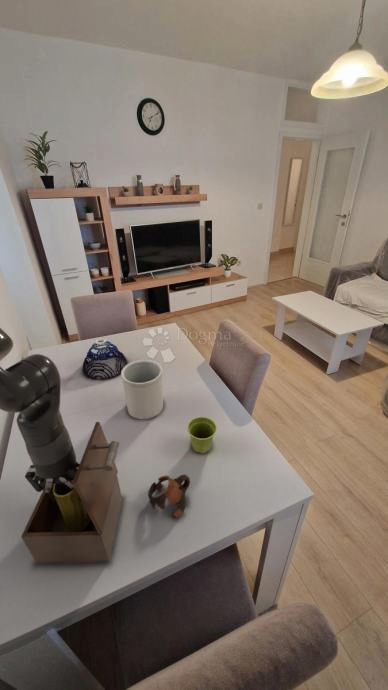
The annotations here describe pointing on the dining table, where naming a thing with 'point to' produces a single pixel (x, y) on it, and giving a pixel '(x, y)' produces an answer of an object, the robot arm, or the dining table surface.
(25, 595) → the dining table surface
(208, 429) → the plant pot
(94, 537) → the chest
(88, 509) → the lid
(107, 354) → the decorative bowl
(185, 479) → the brown plush toy
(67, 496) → the vase
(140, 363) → the utensil holder
